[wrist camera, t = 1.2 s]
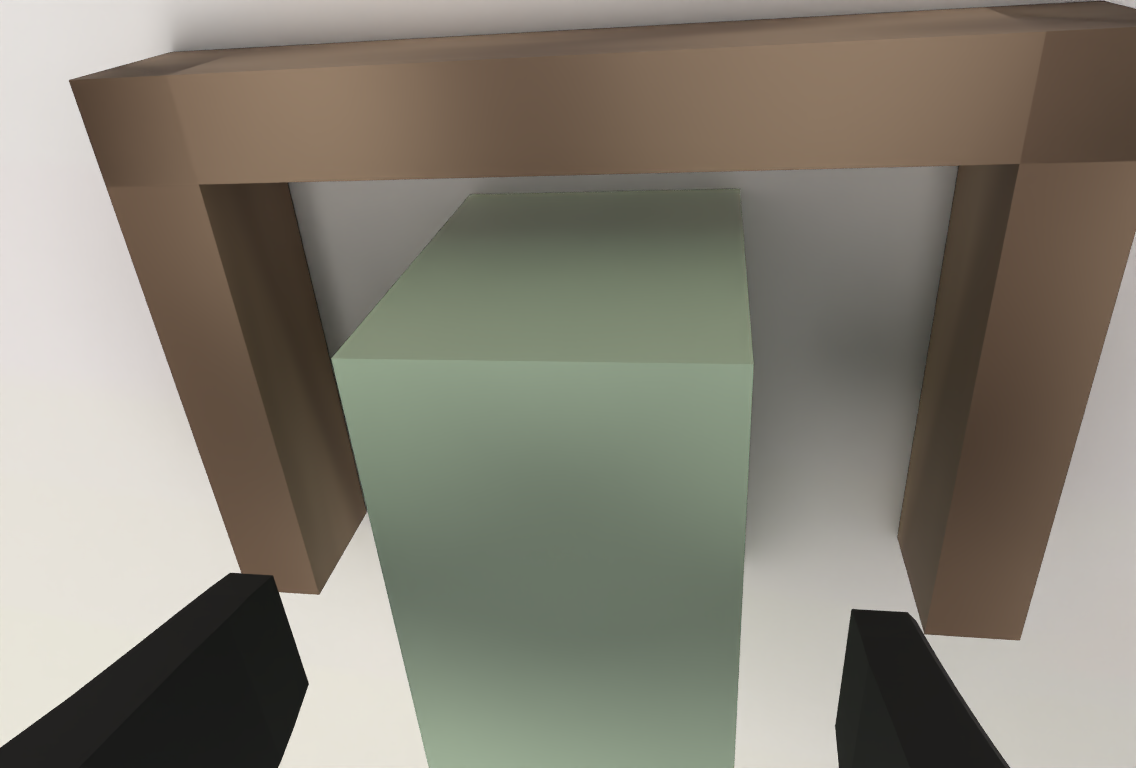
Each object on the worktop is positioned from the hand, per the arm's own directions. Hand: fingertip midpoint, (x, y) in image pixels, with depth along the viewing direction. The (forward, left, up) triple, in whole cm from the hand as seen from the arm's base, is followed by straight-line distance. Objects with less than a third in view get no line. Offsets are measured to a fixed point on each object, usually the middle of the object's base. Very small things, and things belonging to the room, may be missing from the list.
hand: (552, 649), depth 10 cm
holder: (0, -2, -6) cm, 6 cm away
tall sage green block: (0, 0, -6) cm, 6 cm away
